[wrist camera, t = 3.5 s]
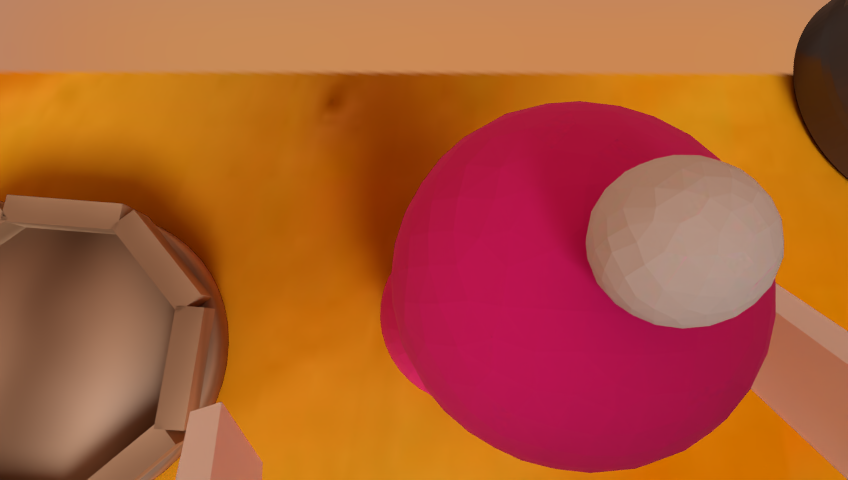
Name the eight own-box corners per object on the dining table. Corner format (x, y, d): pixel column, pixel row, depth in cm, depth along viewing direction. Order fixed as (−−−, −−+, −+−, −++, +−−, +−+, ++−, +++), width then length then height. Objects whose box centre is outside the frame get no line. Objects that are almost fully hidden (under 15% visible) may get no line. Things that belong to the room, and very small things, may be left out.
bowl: (248, 224, 24) (225, 207, 21) (202, 521, 21) (168, 554, 18) (-32, 202, 23) (-98, 181, 20) (-119, 505, 20) (-212, 535, 17)
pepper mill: (394, 238, 24) (381, -180, 5) (529, 258, 24) (1072, -64, 5) (372, 380, 23) (212, 664, 3) (517, 400, 23) (1237, 787, 3)
